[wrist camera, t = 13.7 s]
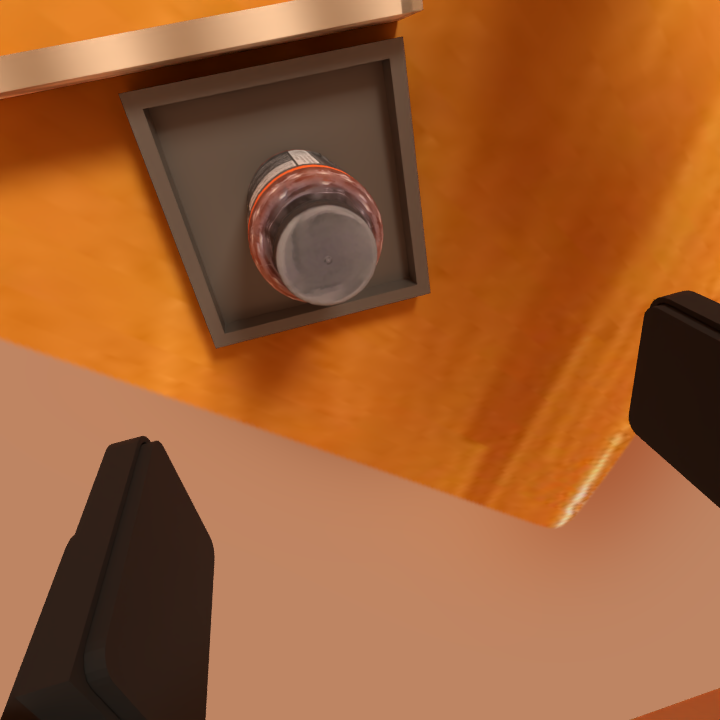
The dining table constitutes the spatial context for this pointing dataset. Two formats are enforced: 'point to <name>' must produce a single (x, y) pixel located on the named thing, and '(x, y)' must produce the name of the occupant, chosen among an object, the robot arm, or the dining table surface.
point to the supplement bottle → (312, 228)
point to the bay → (191, 41)
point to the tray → (260, 142)
